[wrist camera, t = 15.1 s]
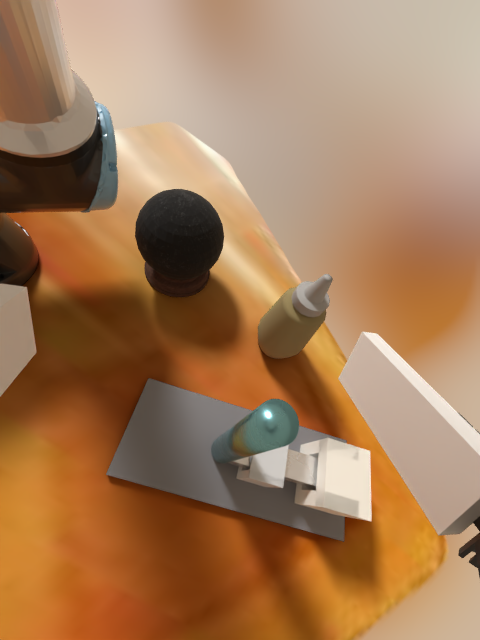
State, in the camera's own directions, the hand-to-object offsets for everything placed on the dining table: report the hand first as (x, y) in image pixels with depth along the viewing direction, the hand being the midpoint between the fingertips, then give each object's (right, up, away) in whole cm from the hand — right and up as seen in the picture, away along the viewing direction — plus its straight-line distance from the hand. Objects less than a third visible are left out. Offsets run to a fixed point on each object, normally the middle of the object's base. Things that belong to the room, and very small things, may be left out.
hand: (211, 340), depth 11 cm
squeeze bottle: (+7, -3, +36) cm, 37 cm away
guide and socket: (+2, -18, +26) cm, 32 cm away
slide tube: (+5, -18, +25) cm, 31 cm away
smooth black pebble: (-10, +9, +39) cm, 41 cm away
